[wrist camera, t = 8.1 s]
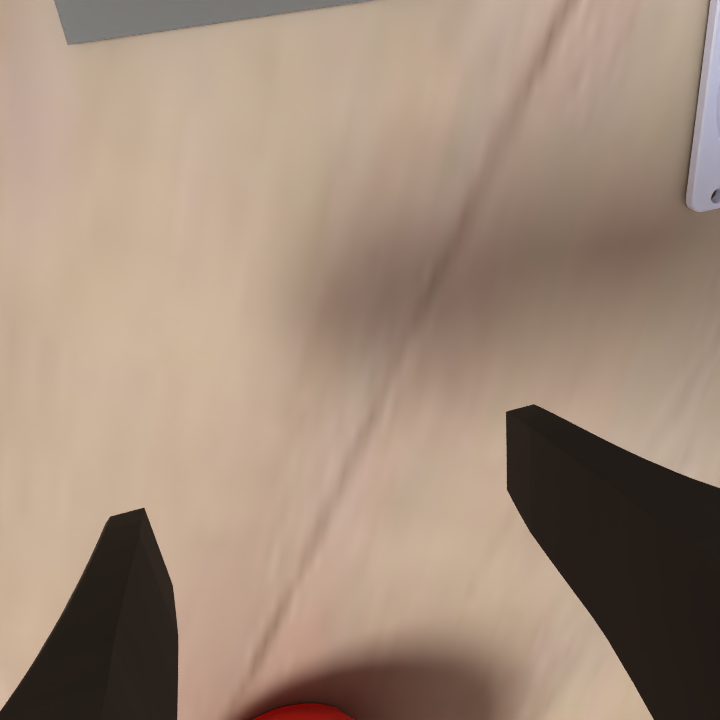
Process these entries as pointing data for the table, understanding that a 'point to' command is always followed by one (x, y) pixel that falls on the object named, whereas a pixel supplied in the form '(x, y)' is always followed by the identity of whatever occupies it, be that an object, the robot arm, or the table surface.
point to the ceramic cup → (305, 713)
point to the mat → (165, 14)
